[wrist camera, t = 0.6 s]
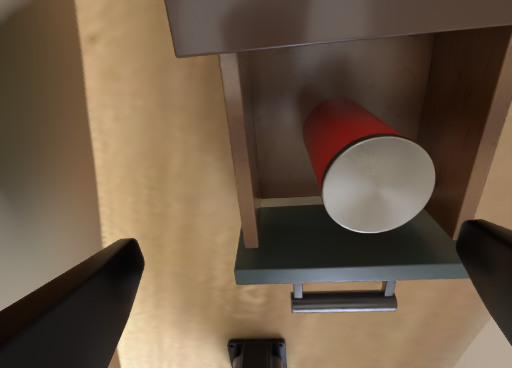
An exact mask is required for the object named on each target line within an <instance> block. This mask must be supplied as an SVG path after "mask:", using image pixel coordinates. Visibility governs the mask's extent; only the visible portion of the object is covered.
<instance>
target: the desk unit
mask: <svg viewBox="0 0 512 368" xmlns="http://www.w3.org/2000/svg"><path fill="white" fill-rule="evenodd" d="M164 1H165V6H166V11H167V16H168V21H169V26H170V31H171V36H172V41H173V46H174V51H175V56H176V57H177V58H186V57H196V56H206V55H216V54H226V53H236V52H246V51H256V50H266V49H276V48H286V47H296V46H306V45H316V44H326V43H336V42H346V41H356V40H366V39H377V38H387V37H397V36H407V35H417V34H427V33H437V32H447V31H457V30H467V29H477V28H487V27H497V26H507V25H512V0H164Z"/></svg>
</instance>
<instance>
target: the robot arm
mask: <svg viewBox="0 0 512 368" xmlns="http://www.w3.org/2000/svg"><path fill="white" fill-rule="evenodd" d="M456 252H457V255H458V257H459V259H460V261H461V262H462V264H463V266H464V268H465V270H466V272H467V274H468V275H469V277H470V279H471V281H472V283H473V285H474V287H475V288H476V290H477V292H478V294H479V296H480V298H481V299H482V301H483V303H484V305H485V306H486V308H487V310H488V311H489V313H490V314H491V316H492V317H493V319H494V320H495V322H496V323H497V325H498V326H499V328H500V329H501V331H502V332H503V334H504V335H505V337H506V338H507V340H508V341H509V343H510V344H511V346H512V230H509V229H507V228H504V227H501V226H499V225H496V224H493V223H491V222H488V221H486V220H482V219H476V220H465V221H464V222H463V223H462V224H461V227H460V231H459V234H458V238H457V241H456ZM144 266H145V261H144V257H143V255H142V252H141V249H140V246H139V244H138V241H137V240H136V239H134V238H125V239H120V240H118V241H116V242H115V243H113V244H111V245H110V246H108V247H106V248H105V249H103V250H101V251H100V252H98V253H96V254H95V255H93V256H91V257H90V258H88V259H87V260H85V261H83V262H81V263H80V264H78V265H76V266H75V267H73V268H71V269H70V270H68V271H66V272H65V273H63V274H61V275H60V276H58V277H57V278H55V279H53V280H51V281H50V282H48V283H47V284H45V285H43V286H42V287H40V288H38V289H37V290H35V291H33V292H32V293H30V294H28V295H27V296H25V297H23V298H22V299H20V300H18V301H17V302H15V303H13V304H12V305H10V306H8V307H7V308H5V309H3V310H2V311H0V368H108V366H109V363H110V361H111V359H112V356H113V354H114V351H115V349H116V347H117V344H118V342H119V340H120V337H121V335H122V333H123V330H124V328H125V325H126V323H127V320H128V318H129V315H130V312H131V309H132V306H133V303H134V299H135V296H136V293H137V290H138V286H139V283H140V280H141V277H142V273H143V270H144ZM227 346H228V351H229V356H230V360H231V365H232V368H287V364H286V349H285V341H284V340H282V339H264V340H229V341H228V345H227Z"/></svg>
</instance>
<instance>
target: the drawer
mask: <svg viewBox="0 0 512 368" xmlns="http://www.w3.org/2000/svg"><path fill="white" fill-rule="evenodd" d="M218 56H219V63H220V70H221V78H222V85H223V92H224V99H225V107H226V114H227V121H228V128H229V136H230V143H231V150H232V157H233V165H234V172H235V179H236V186H237V194H238V201H239V208H240V215H241V223H242V225H241V231H240V237H239V243H238V249H237V255H236V261H235V267H234V274H235V280H236V284H237V285H251V284H287V283H293V292H291V293H290V295H291V310H292V313H332V312H386V311H396V310H397V299H396V296H395V293H394V288H395V283H396V280H432V279H469V278H470V277H469V275H468V274H467V272H466V270H465V268H464V266H463V264H462V262H461V261H460V259H459V257H458V255H457V252H456V241H457V238H458V234H459V231H460V227H461V224H462V223H463V222H464V221H465V220H474V217H475V214H476V211H477V208H478V205H479V202H480V198H481V195H482V192H483V189H484V186H485V183H486V180H487V176H488V173H489V170H490V167H491V164H492V161H493V158H494V154H495V151H496V148H497V145H498V142H499V139H500V136H501V132H502V129H503V126H504V123H505V120H506V117H507V113H508V110H509V107H510V104H511V101H512V25H507V26H497V27H487V28H477V29H467V30H457V31H447V32H437V33H427V34H417V35H407V36H397V37H387V38H377V39H366V40H356V41H346V42H336V43H326V44H316V45H306V46H296V47H286V48H276V49H266V50H256V51H246V52H236V53H226V54H218ZM334 98H346V99H350V100H352V101H355V102H356V103H358V104H359V105H361V106H362V107H364V108H365V109H366V110H368V111H369V112H371V113H372V114H373V115H375V116H376V117H378V118H379V119H380V120H382V121H383V122H385V123H386V124H387V125H389V126H390V127H392V128H393V129H394V130H396V131H397V132H399V133H400V134H401V135H403V136H404V137H406V138H409V139H410V140H412V141H414V142H415V143H417V144H418V145H419V146H421V147H422V148H423V149H424V150H425V151H426V152H427V154H428V155H429V156H430V158H431V160H432V162H433V165H434V170H435V184H434V189H433V192H432V194H431V196H430V199H429V200H428V202H427V203H426V205H425V206H424V207H423V209H422V210H421V211H420V212H419V213H418V214H417V215H416V216H414V217H413V218H412V219H411V220H409V221H408V222H406V223H404V224H403V225H401V226H399V227H396V228H394V229H391V230H388V231H383V232H378V233H362V232H356V231H352V230H349V229H347V228H345V227H343V226H341V225H340V224H338V223H337V222H335V221H334V220H333V219H332V218H331V216H330V215H329V214H328V212H327V211H326V209H325V206H324V204H322V205H302V206H283V207H263V208H261V202H262V199H267V198H286V197H304V196H321V191H320V188H319V185H318V182H317V179H316V176H315V173H314V170H313V167H312V164H311V160H310V157H309V154H308V151H307V148H306V145H305V142H304V138H303V129H304V124H305V121H306V119H307V117H308V116H309V114H310V113H311V112H312V110H313V109H314V108H315V107H317V106H318V105H319V104H321V103H323V102H325V101H327V100H330V99H334ZM360 281H383V283H382V290H342V291H302V283H323V282H360Z"/></svg>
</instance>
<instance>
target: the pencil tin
mask: <svg viewBox="0 0 512 368" xmlns="http://www.w3.org/2000/svg"><path fill="white" fill-rule="evenodd" d="M303 138H304V142H305V145H306V148H307V151H308V154H309V157H310V160H311V164H312V167H313V170H314V173H315V176H316V179H317V182H318V185H319V188H320V191H321V197H322V201H323V204H324V206H325V209H326V211H327V212H328V214H329V215H330V216H331V218H332V219H333V220H334V221H335V222H337V223H338V224H340V225H341V226H343V227H345V228H347V229H349V230H352V231H356V232H362V233H378V232H383V231H388V230H391V229H394V228H396V227H399V226H401V225H403V224H404V223H406V222H408V221H409V220H411V219H412V218H413V217H414V216H416V215H417V214H418V213H419V212H420V211H421V210H422V209H423V207H424V206H425V205H426V203H427V202H428V200H429V199H430V196H431V194H432V192H433V189H434V184H435V170H434V165H433V162H432V160H431V158H430V156H429V155H428V154H427V152H426V151H425V150H424V149H423V148H422V147H421V146H419V145H418V144H417V143H415V142H414V141H412V140H410V139H409V138H406V137H404V136H403V135H401V134H400V133H399V132H397V131H396V130H394V129H393V128H392V127H390V126H389V125H387V124H386V123H385V122H383V121H382V120H380V119H379V118H378V117H376V116H375V115H373V114H372V113H371V112H369V111H368V110H366V109H365V108H364V107H362V106H361V105H359V104H358V103H356V102H355V101H352V100H350V99H346V98H334V99H330V100H327V101H325V102H323V103H321V104H319V105H318V106H317V107H315V108H314V109H313V110H312V112H311V113H310V114H309V116H308V117H307V119H306V121H305V124H304V129H303Z"/></svg>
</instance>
